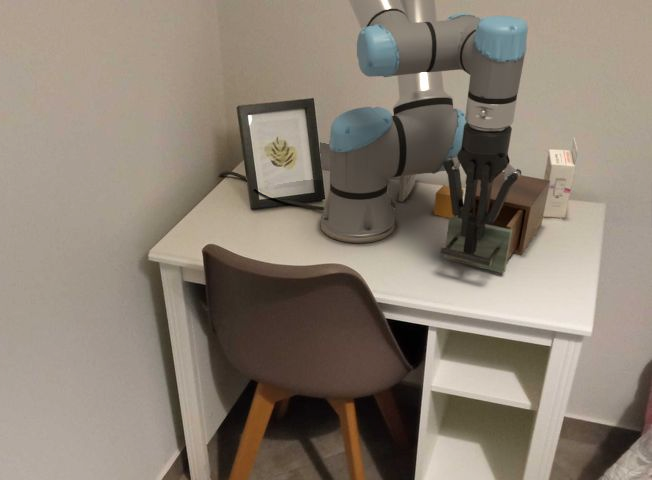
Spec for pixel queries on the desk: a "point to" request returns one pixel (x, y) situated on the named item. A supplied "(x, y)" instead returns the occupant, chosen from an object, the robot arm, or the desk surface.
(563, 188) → the ink cartridge box
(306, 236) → the desk surface
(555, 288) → the desk surface
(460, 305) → the desk surface
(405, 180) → the cassette
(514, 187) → the cabinet
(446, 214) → the block
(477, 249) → the drawer
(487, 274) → the desk surface
